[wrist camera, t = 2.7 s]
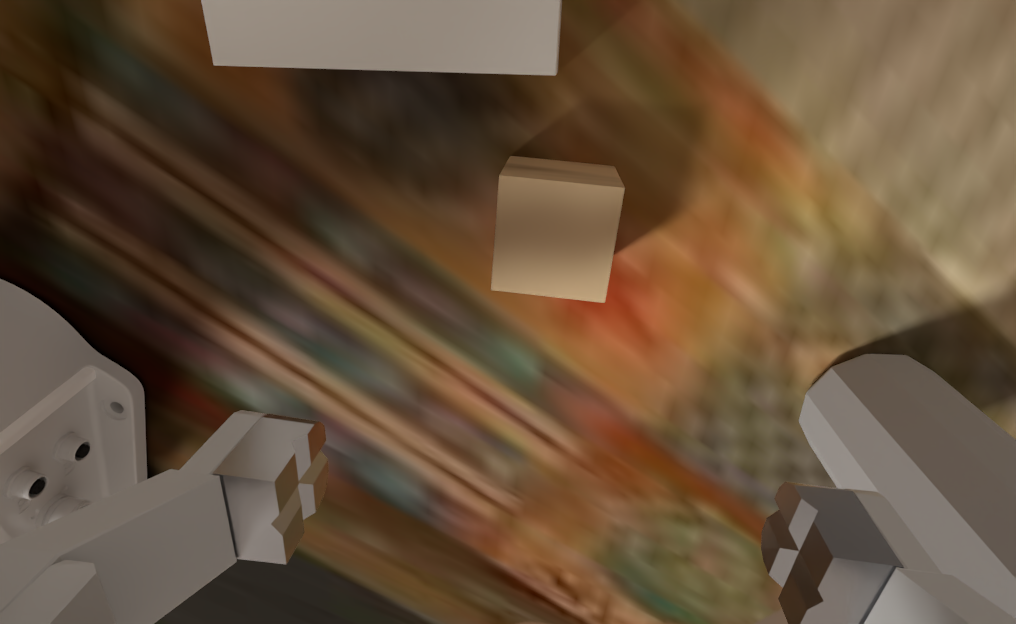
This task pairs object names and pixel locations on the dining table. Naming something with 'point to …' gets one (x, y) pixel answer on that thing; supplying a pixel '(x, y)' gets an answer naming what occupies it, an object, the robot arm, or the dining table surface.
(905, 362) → the water bottle
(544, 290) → the oak cube
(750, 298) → the dining table surface
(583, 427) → the dining table surface
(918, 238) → the dining table surface
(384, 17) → the white square block
